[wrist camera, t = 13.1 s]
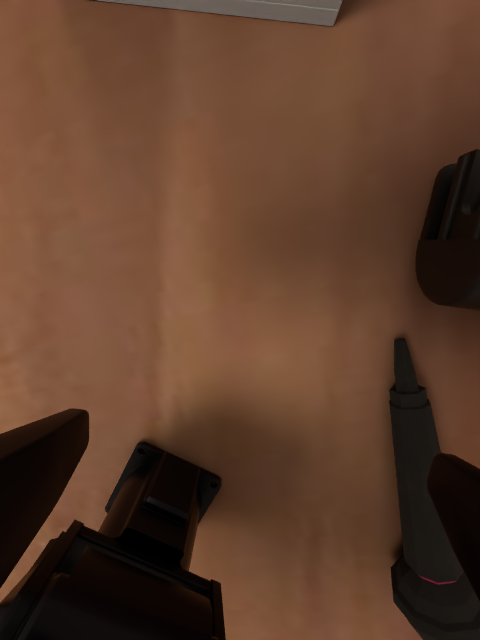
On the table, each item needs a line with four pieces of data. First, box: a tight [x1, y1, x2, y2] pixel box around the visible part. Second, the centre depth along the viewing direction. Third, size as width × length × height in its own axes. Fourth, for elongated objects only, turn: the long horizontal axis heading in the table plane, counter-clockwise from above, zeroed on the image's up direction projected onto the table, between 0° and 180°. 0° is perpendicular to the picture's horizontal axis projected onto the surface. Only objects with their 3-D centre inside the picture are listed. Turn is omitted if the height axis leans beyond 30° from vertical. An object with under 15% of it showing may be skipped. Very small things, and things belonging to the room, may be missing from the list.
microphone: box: [389, 338, 480, 640], centre depth 20 cm, size 6×6×20 cm
